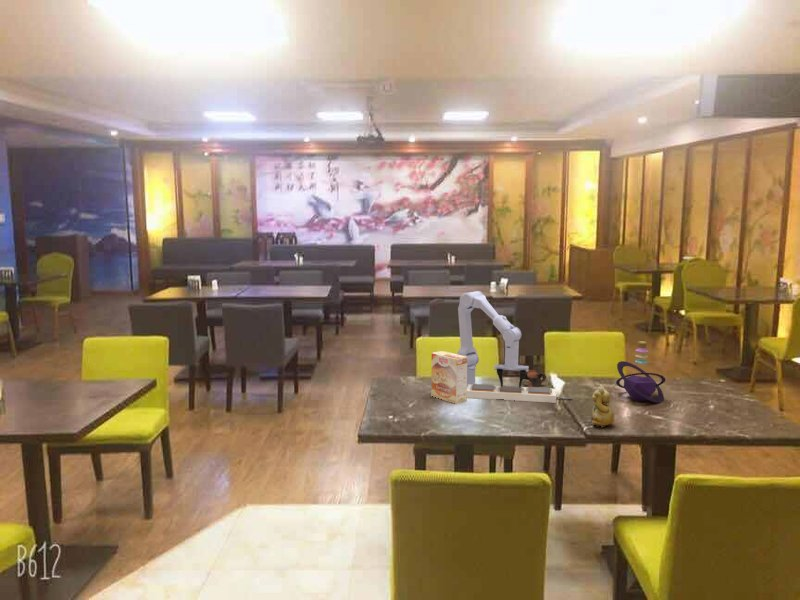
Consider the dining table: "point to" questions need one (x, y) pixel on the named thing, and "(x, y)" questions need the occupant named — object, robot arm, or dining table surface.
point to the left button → (483, 387)
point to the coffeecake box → (449, 377)
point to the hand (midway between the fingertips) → (510, 386)
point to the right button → (539, 390)
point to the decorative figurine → (602, 408)
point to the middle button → (511, 389)
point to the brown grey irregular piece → (534, 378)
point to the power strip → (513, 395)
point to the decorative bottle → (640, 379)
